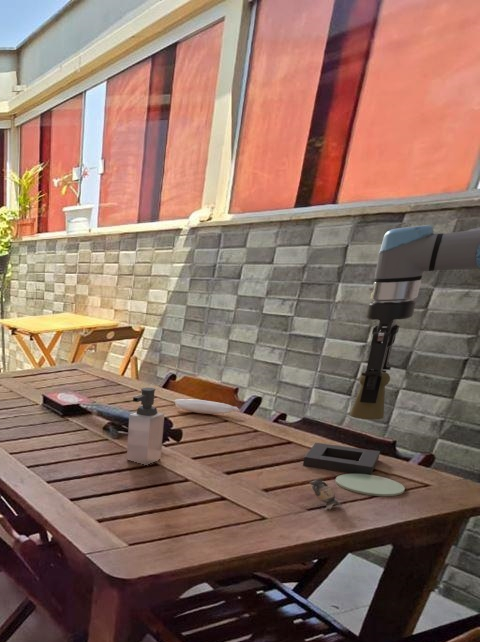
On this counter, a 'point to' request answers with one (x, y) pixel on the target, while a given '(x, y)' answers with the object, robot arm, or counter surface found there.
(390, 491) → the coaster
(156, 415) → the soap dispenser
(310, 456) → the frame
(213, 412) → the white tapered cylinder
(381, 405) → the cork
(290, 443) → the counter surface
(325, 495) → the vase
